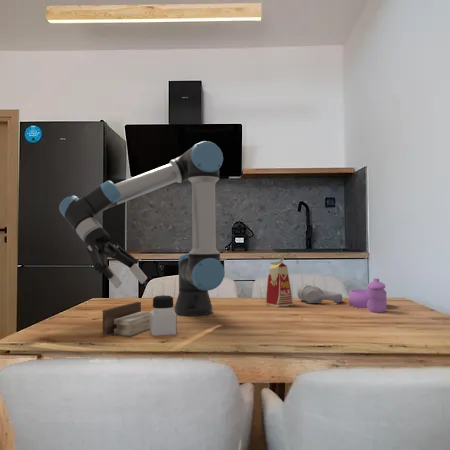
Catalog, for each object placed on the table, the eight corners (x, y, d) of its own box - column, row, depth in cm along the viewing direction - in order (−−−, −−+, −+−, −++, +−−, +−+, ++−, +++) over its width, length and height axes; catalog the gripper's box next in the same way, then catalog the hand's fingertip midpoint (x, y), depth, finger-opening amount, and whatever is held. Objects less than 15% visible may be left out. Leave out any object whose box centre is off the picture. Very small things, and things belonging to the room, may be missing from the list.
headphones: (307, 304, 178) (348, 309, 183) (309, 286, 179) (350, 291, 183) (291, 298, 196) (328, 303, 201) (293, 282, 197) (330, 287, 201)
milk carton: (293, 305, 180) (293, 259, 181) (277, 307, 175) (277, 260, 175) (279, 302, 187) (279, 259, 188) (264, 304, 182) (263, 259, 183)
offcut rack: (102, 338, 119) (102, 310, 120) (136, 326, 136) (136, 301, 136) (130, 341, 116) (130, 312, 116) (161, 328, 133) (161, 303, 133)
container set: (346, 303, 186) (345, 274, 186) (380, 303, 184) (379, 274, 185) (359, 313, 161) (359, 279, 161) (399, 313, 159) (399, 279, 160)
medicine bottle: (176, 338, 120) (176, 297, 120) (152, 339, 118) (152, 298, 118) (172, 332, 127) (172, 294, 127) (149, 334, 125) (149, 294, 125)
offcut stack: (113, 333, 120) (114, 319, 120) (140, 324, 133) (140, 311, 134) (131, 335, 118) (131, 320, 118) (156, 325, 131) (156, 312, 131)
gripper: (110, 242, 145) (146, 286, 139) (58, 243, 122) (99, 296, 116) (123, 227, 143) (160, 271, 137) (73, 225, 120) (115, 278, 114)
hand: (132, 283), depth 127 cm, fingers open, 13 cm apart
